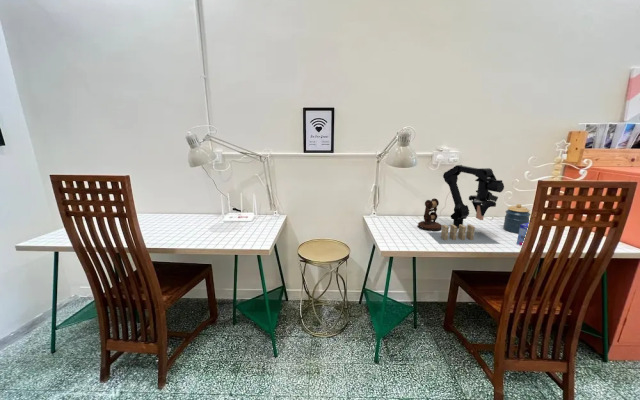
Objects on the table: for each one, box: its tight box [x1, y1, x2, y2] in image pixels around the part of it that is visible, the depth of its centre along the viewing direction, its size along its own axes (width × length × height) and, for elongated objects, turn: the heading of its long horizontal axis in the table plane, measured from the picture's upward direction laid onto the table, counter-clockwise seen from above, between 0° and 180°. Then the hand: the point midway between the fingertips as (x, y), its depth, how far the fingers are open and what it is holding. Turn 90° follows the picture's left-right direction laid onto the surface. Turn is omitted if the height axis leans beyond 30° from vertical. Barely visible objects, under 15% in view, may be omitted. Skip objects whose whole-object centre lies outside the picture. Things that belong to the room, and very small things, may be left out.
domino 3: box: [457, 224, 467, 240], centre depth 157 cm, size 2×5×8 cm, turn 179°
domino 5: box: [475, 205, 485, 221], centre depth 162 cm, size 2×5×8 cm, turn 179°
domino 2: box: [449, 224, 458, 240], centre depth 157 cm, size 2×5×8 cm, turn 179°
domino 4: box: [466, 224, 476, 240], centre depth 157 cm, size 2×5×8 cm, turn 179°
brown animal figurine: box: [417, 198, 443, 232], centre depth 176 cm, size 15×15×20 cm
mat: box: [426, 231, 501, 245], centre depth 160 cm, size 19×34×1 cm, turn 89°
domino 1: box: [441, 224, 450, 240], centre depth 157 cm, size 2×5×8 cm, turn 179°
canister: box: [502, 203, 532, 234], centre depth 170 cm, size 13×13×18 cm
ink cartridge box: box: [516, 223, 529, 246], centre depth 147 cm, size 10×6×14 cm, turn 114°
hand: (480, 214), depth 162 cm, fingers closed on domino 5, 5 cm apart
